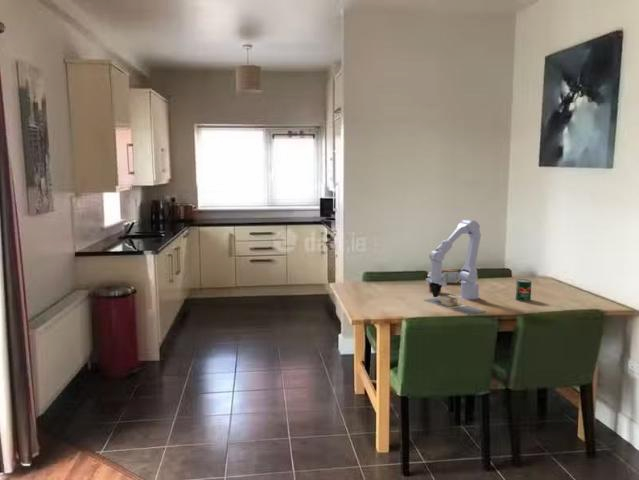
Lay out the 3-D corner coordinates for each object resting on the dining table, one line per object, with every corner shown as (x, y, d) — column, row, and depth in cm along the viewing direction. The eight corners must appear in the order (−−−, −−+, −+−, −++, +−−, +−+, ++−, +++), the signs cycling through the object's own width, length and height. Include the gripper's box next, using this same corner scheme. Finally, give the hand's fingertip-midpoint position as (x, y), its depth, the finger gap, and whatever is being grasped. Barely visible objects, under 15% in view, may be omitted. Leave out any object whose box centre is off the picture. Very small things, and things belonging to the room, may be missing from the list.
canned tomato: (521, 302, 292) (522, 282, 291) (512, 298, 300) (513, 279, 299) (533, 301, 295) (534, 281, 293) (524, 297, 302) (525, 278, 301)
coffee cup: (443, 294, 310) (443, 274, 308) (427, 293, 312) (427, 273, 310) (442, 291, 319) (443, 271, 317) (427, 290, 321) (427, 270, 319)
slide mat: (439, 298, 301) (439, 297, 301) (485, 312, 272) (485, 311, 272) (422, 300, 295) (422, 300, 295) (468, 315, 266) (468, 314, 266)
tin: (461, 282, 343) (461, 269, 342) (462, 283, 340) (462, 270, 338) (437, 282, 342) (438, 269, 341) (438, 283, 339) (439, 270, 338)
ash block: (449, 302, 290) (449, 295, 290) (457, 304, 285) (457, 297, 284) (440, 303, 287) (441, 296, 287) (448, 306, 282) (449, 298, 282)
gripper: (421, 271, 297) (421, 294, 299) (439, 275, 285) (439, 300, 287) (431, 269, 301) (430, 293, 303) (449, 274, 288) (449, 298, 290)
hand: (435, 296), depth 295 cm, fingers closed
